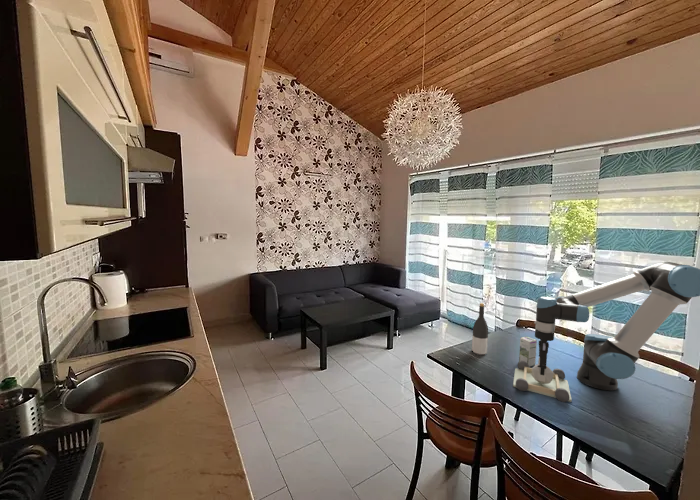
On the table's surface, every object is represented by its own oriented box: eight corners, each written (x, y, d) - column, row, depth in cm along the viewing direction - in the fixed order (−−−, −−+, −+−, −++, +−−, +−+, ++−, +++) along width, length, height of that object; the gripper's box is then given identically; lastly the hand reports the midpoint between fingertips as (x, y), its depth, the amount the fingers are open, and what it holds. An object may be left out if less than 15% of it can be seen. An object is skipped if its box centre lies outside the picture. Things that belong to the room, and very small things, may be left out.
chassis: (566, 380, 145) (567, 370, 145) (571, 404, 126) (572, 393, 125) (515, 368, 157) (516, 359, 156) (512, 388, 137) (513, 378, 137)
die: (556, 390, 135) (558, 368, 134) (534, 387, 136) (536, 366, 135) (547, 380, 143) (549, 360, 142) (527, 378, 145) (528, 358, 144)
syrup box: (535, 366, 160) (537, 339, 158) (527, 367, 157) (529, 341, 156) (525, 361, 165) (527, 336, 164) (518, 363, 163) (519, 337, 161)
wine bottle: (468, 352, 176) (471, 302, 173) (478, 350, 179) (481, 301, 176) (479, 357, 168) (482, 306, 166) (489, 355, 172) (492, 304, 169)
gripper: (535, 322, 150) (532, 364, 152) (535, 336, 131) (531, 384, 133) (553, 324, 146) (549, 368, 148) (555, 339, 127) (552, 389, 129)
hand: (541, 375), depth 141 cm, fingers open, 10 cm apart
